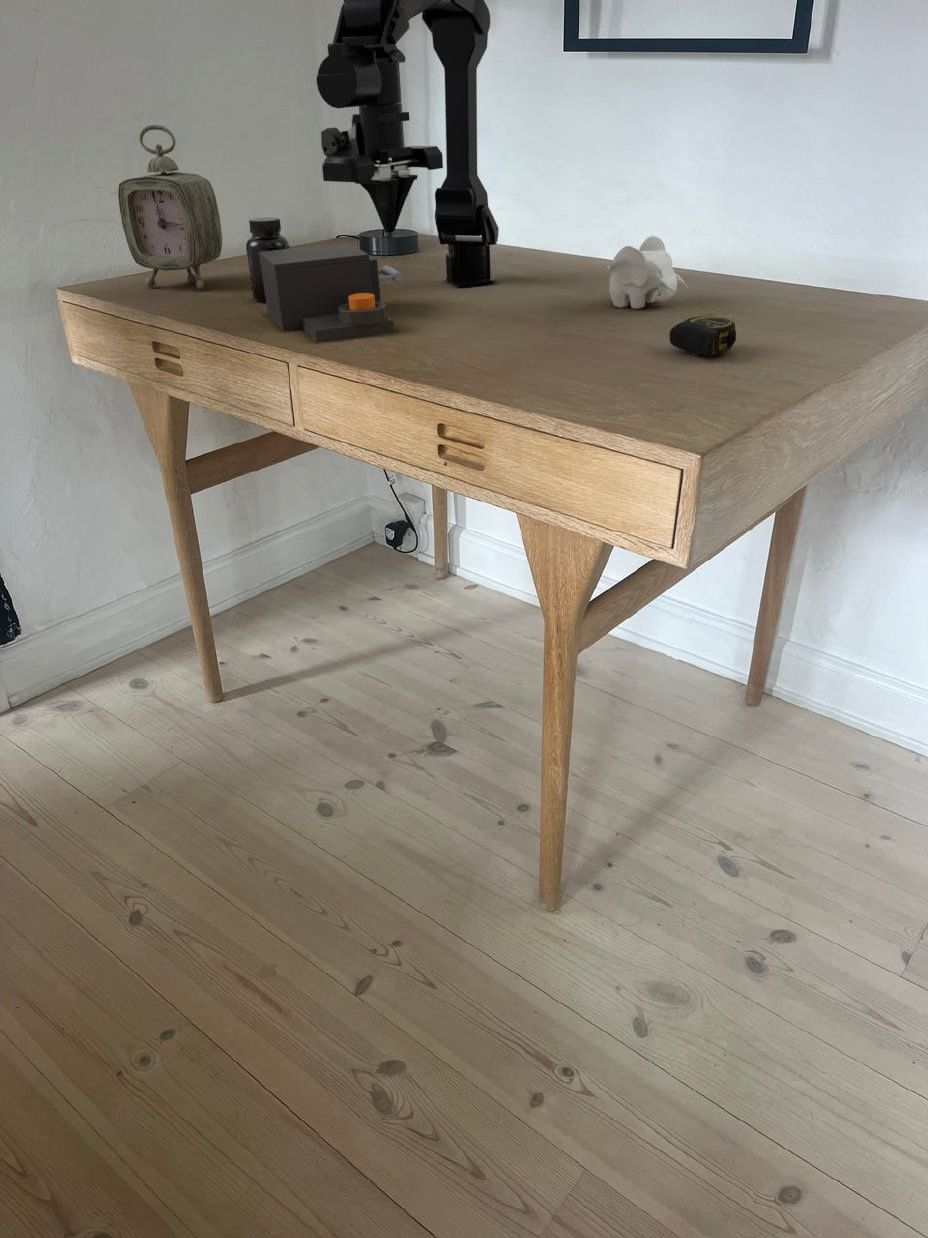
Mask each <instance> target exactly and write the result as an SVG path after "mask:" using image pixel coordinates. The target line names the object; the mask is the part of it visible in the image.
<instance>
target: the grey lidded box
mask: <svg viewBox="0 0 928 1238" xmlns="http://www.w3.org/2000/svg"><path fill="white" fill-rule="evenodd" d="M369 255H370V253H368V252H365V251H364V250H362V249H361V248H359V247H356V246H355V245H353V244H351V243H350V242H341V243H332V244H331V243H330V244H322V245H312V246H303V247H302V246H301V247H293V248H290V249H282V250H273V251H263V252H259V257H260V264H261V270H262V277H263V284H264V291H265V298H266V302H265V305H266V310H267V315H268V316H269V317H270V319H271V320H272V321H273V322H274V323H275V324H276V325H277V326H278V328H280V330H281V331H283V332H289V331H296V330H297V331H298V330H304V329H303V321H302V318H307V317H315V316H323V315H330V314H338V313H339V312H338V308H339V307H340V306H341V305H343V304H347V303H349V299H348V297H349V296H350V295H353V294H358V293H370V294H373V292H372V281H371V270H370V258H369Z"/></svg>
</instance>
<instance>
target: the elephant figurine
mask: <svg viewBox="0 0 928 1238" xmlns="http://www.w3.org/2000/svg"><path fill="white" fill-rule="evenodd" d="M606 269H608V270H609V271H610V272H611V273H610V274H611V275H610V280H609V294H610V298H611V300H612V303H613V306H614V307H617V308H627V307H628V306H629V303H630V308H631V309H634V310H635V309H636V310H638V309H642V308H645V306H646V304H652V303H653V302H656V301H657V302H659V303H660V302H666V301H668V300H669V299H671V298H673V297H674V296H675V295H676V294H678V293H677V290H678V282H679V283H680V284H681V285H683V287H686V288H687V289H688V285H687V284H686V282H685V281H684V279H682V277H681V276H680V275H679V274H677V273H675V271H674V268H673V259H672V256H671V255H670V253H669V252H667V250H666V245H665V243H664V241H663V240H662V239H661V238H659V236H655V235H651V236H648V237H646V239H644V241H642V243H641V244H640V246H639V249H638V248H635V247H634V246H631V245H626V246H624V247H622V248H621V249H620V250H619V251H617V252H616V255H615V256H614V258H613V260H612V262H611V263H610V265H609V266H607V267H606ZM659 291H660V293H659V294H658V292H659Z"/></svg>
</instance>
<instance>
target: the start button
mask: <svg viewBox="0 0 928 1238" xmlns="http://www.w3.org/2000/svg"><path fill="white" fill-rule="evenodd" d="M348 299H349V309H352V310H365V309H372V308H375V296H374V294H370V293H358V294H353V295H350V296H349V297H348Z"/></svg>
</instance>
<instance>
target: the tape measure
mask: <svg viewBox="0 0 928 1238" xmlns="http://www.w3.org/2000/svg"><path fill="white" fill-rule="evenodd" d="M736 340H737V331H736V324H735V322H734V321H733V320H731V319H730V318H727V317H722V316H715V315H700V316H692V317H689V318H687V319H685V320H683V321H682V322H679V323H677V324H676V325H673V326H672V328H671V329H670V330H669V340H668V341H669V343H670V344H671V345H672V346H673V347H675V348H677V349H681V350H684V351H686V352H691V353H692V354H693V355H697V356H698V355H704V356H708V357H712V356H714V355H716V354H720V353H726V352H729V351H730V350H731V349H732V347H733V346H734V344H735V343H736Z"/></svg>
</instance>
